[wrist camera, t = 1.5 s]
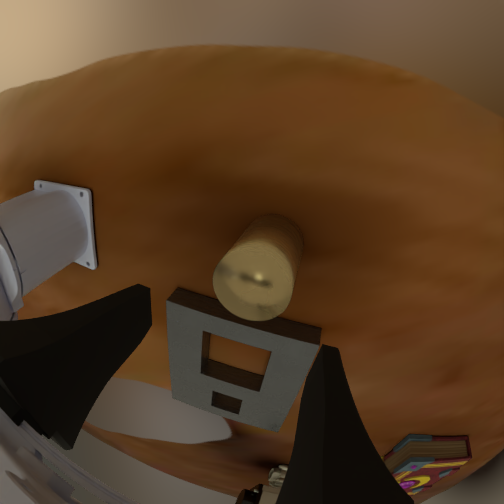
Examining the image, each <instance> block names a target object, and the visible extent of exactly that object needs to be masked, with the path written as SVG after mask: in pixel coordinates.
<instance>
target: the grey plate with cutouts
mask: <svg viewBox="0 0 504 504" xmlns="http://www.w3.org/2000/svg"><path fill="white" fill-rule="evenodd" d="M166 308H167V333H168V350H169V364H170V376H171V387H172V397H173V398H174V399H176V400H179V401H181V402H184V403H186V404H189V405H192V406H194V407H197V408H199V409H202V410H205V411H208V412H211V413H214V414H217V415H219V416H222V417H226V418H229V419H232V420H235V421H238V422H242V423H245V424H248V425H252V426H256V427H259V428H263V429H267V430H271V431H275V432H278V431H279V429H280V427H281V425H282V423H283V421H284V420H285V418H286V416H287V414H288V412H289V410H290V408H291V406H292V404H293V402H294V400H295V398H296V396H297V394H298V392H299V390H300V388H301V385H302V383H303V381H304V379H305V377H306V375H307V373H308V370H309V368H310V366H311V364H312V362H313V359H314V357H315V355H316V353H317V350H318V348H319V346H320V336H321V328H318V327H314V326H310V325H306V324H302V323H298V322H294V321H290V320H286V319H282V318H279V317H274V318H272V319H269V320H265V321H252V320H247V319H243V318H241V317H238V316H236V315H235V314H233V313H231V312H230V311H229V310H227V309H226V308H225V307H224V306H223V305H222V303H221V302H220V301H219V300H216V299H213V298H209V297H206V296H203V295H200V294H196V293H193V292H190V291H187V290H184V289H181V288H177V289H176V290H175V291H174V292H173V293H172V295H171V296H170V297H169V298H168V299H167V300H166ZM210 333H212V334H215V335H218V336H221V337H224V338H228V339H231V340H234V341H237V342H241V343H244V344H247V345H251V346H254V347H258V348H261V349H265V350H268V351H272V353H271V356H270V360H269V363H268V366H267V370H266V373H265V376H261V375H258V374H254V373H251V372H247V371H244V370H241V369H237V368H234V367H231V366H228V365H225V364H222V363H219V362H216V361H213V360H210V359H208V356H209V343H210Z"/></svg>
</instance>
